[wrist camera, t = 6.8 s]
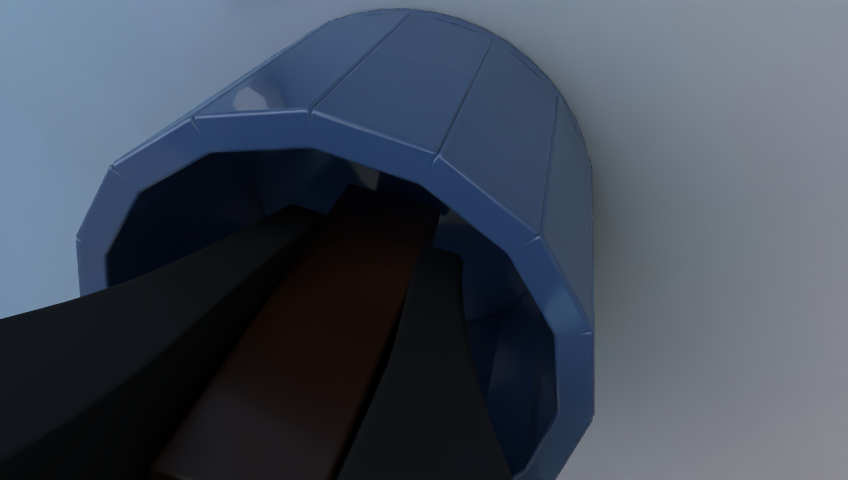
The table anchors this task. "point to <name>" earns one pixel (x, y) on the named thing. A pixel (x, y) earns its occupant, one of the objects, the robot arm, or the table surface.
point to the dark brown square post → (308, 352)
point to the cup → (396, 194)
